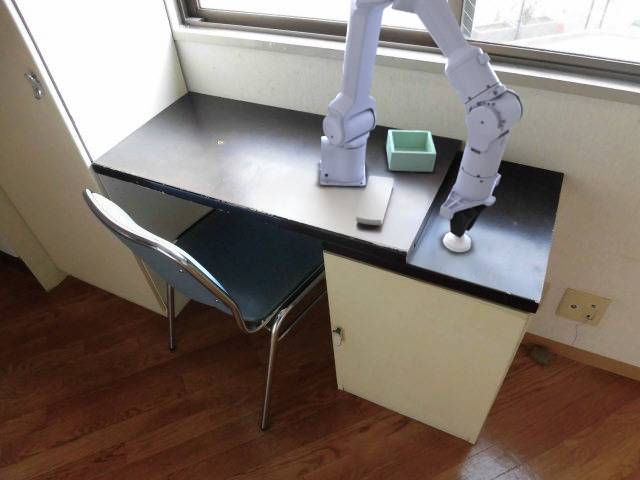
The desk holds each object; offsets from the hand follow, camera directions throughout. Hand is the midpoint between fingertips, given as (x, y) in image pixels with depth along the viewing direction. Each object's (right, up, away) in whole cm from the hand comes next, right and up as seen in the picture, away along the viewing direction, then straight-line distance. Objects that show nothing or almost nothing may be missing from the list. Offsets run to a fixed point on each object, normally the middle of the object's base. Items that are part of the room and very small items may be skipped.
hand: (460, 231), depth 84 cm
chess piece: (0, -2, +2) cm, 3 cm away
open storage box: (-5, +17, +22) cm, 28 cm away
